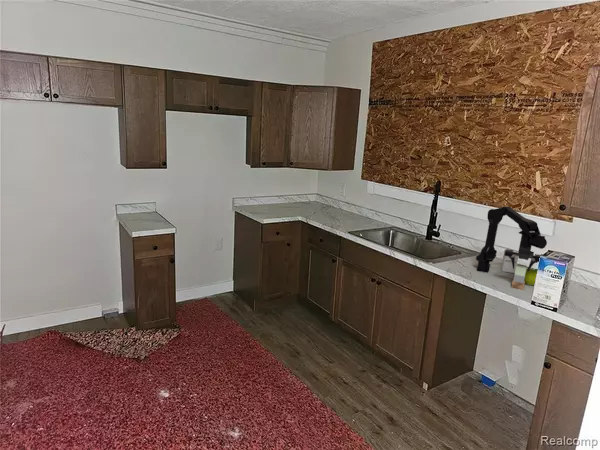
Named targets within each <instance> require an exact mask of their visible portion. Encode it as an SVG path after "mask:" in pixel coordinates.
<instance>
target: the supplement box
mask: <svg viewBox="0 0 600 450" xmlns="http://www.w3.org/2000/svg"><path fill="white" fill-rule="evenodd" d="M505 250H506V249H504V252H503V255H502V257H503V258H502V261H501V267H500V269H501V271H502V272H504V273H511V274H515V270H516V265H517V264H518V259H519V258H518V257H519V256H515V264H514V269H513V265H512V261H511V258H509V256H505ZM513 252H517V251H515V250H513Z"/></svg>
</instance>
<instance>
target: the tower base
mask: <svg viewBox="0 0 600 450" xmlns="http://www.w3.org/2000/svg"><path fill="white" fill-rule="evenodd" d="M525 284H526V283H525V281H524V283H519V282H515V281H514V277H513V278H512V282H511V289H516V290H519V289H520V290H519V291H524V289H525Z"/></svg>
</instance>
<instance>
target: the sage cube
mask: <svg viewBox="0 0 600 450" xmlns="http://www.w3.org/2000/svg"><path fill="white" fill-rule="evenodd" d="M526 269H528V268H527V265H525V264H520V263H517V265H516V270H515V273H514V276H515V275H520V276H525V273H526Z"/></svg>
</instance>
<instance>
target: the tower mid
mask: <svg viewBox="0 0 600 450" xmlns="http://www.w3.org/2000/svg"><path fill="white" fill-rule="evenodd" d="M513 278H514V281H515V282H519V283H524V278H525V276H520V275H515V274H514V277H513Z"/></svg>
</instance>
